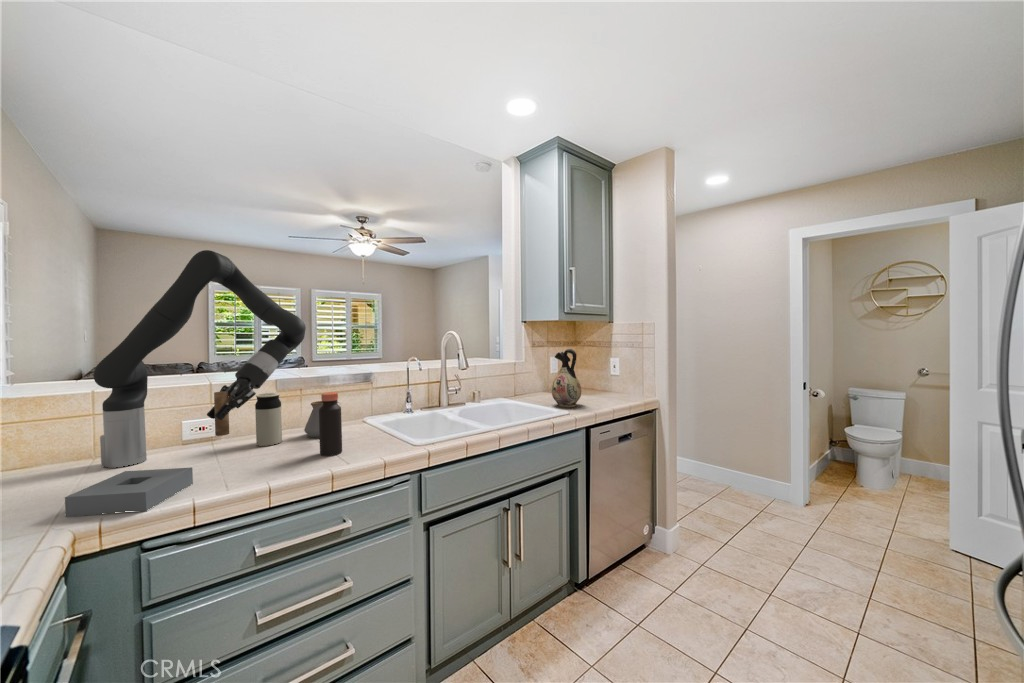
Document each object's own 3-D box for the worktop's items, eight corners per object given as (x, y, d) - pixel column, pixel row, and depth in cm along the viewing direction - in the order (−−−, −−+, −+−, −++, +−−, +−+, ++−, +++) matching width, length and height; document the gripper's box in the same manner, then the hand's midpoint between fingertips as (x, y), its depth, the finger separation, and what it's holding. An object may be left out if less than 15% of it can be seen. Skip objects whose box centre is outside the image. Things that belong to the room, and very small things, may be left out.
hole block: (65, 517, 87) (64, 497, 87) (125, 488, 103) (124, 471, 103) (146, 511, 89) (145, 492, 89) (193, 483, 105) (192, 467, 105)
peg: (212, 436, 109) (211, 393, 108) (219, 433, 112) (218, 391, 111) (225, 435, 109) (224, 392, 109) (231, 432, 112) (230, 391, 112)
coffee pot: (299, 435, 152) (298, 397, 152) (329, 429, 161) (328, 393, 160) (322, 446, 138) (321, 404, 138) (354, 439, 147) (353, 399, 146)
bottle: (315, 455, 128) (313, 394, 127) (331, 449, 134) (330, 391, 134) (330, 457, 126) (329, 395, 125) (346, 451, 132) (345, 392, 131)
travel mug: (267, 447, 137) (265, 396, 136) (251, 445, 140) (249, 395, 139) (287, 441, 144) (285, 393, 144) (271, 439, 147) (270, 392, 147)
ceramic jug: (545, 406, 203) (545, 349, 202) (561, 402, 215) (561, 347, 214) (574, 410, 192) (573, 350, 191) (589, 405, 204) (589, 348, 203)
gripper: (234, 360, 119) (188, 407, 109) (262, 362, 113) (216, 412, 103) (253, 376, 124) (210, 422, 114) (280, 378, 118) (238, 428, 108)
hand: (213, 417), depth 108 cm, fingers closed on peg, 3 cm apart
